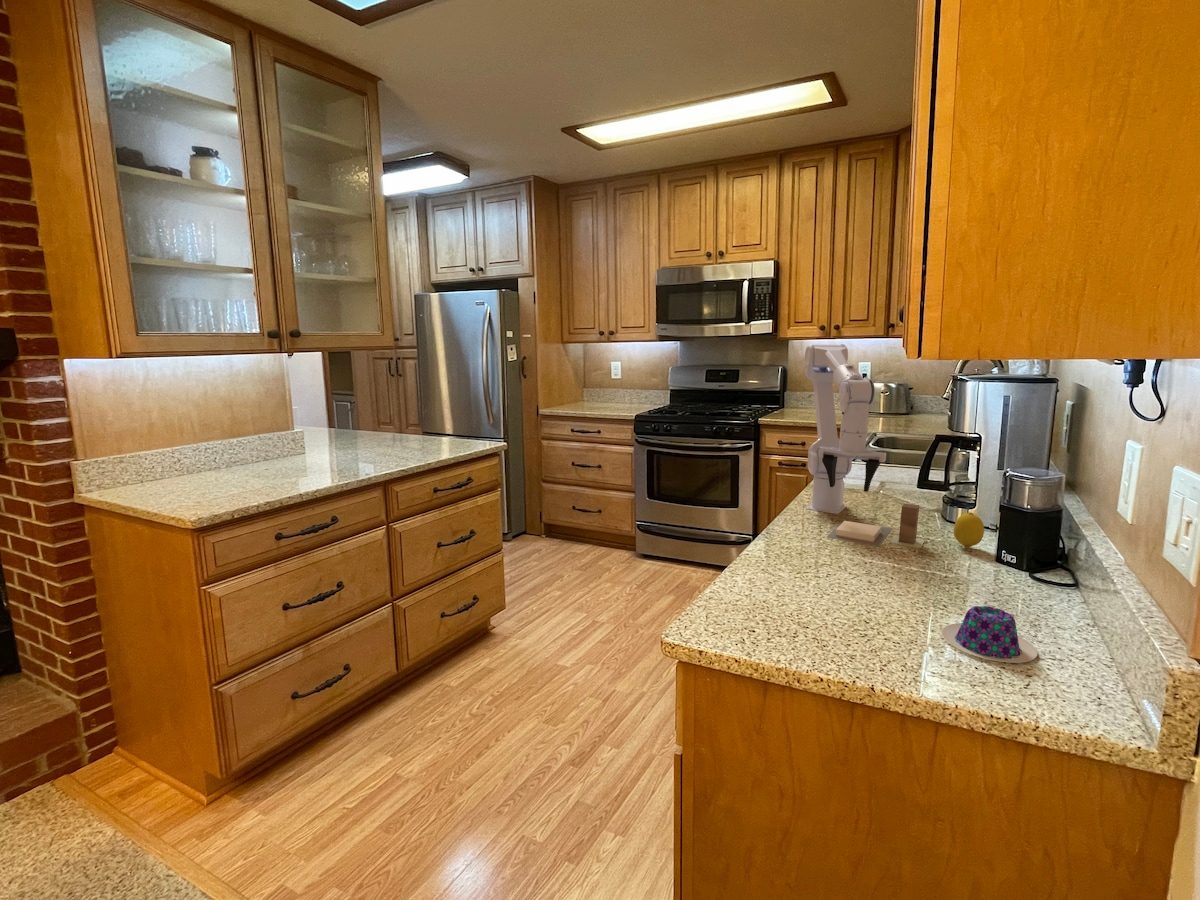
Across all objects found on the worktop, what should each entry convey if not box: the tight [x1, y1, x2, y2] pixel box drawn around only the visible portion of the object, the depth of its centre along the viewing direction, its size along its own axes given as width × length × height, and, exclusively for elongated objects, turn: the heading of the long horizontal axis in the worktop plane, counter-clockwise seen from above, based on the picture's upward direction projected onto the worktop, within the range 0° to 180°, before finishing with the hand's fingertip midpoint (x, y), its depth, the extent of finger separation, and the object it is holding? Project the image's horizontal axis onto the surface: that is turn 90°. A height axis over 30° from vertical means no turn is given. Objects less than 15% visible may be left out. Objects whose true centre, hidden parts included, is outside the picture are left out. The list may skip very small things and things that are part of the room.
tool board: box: [890, 534, 926, 549], centre depth 135 cm, size 6×6×1 cm
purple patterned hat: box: [941, 605, 1038, 664], centre depth 90 cm, size 12×12×5 cm
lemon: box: [953, 511, 985, 549], centre depth 132 cm, size 6×6×8 cm
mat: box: [826, 519, 893, 547], centre depth 142 cm, size 16×11×1 cm
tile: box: [836, 520, 882, 543], centre depth 140 cm, size 2×8×8 cm
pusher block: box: [898, 503, 920, 544], centre depth 134 cm, size 3×3×8 cm
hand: (849, 488), depth 145 cm, fingers open, 7 cm apart
